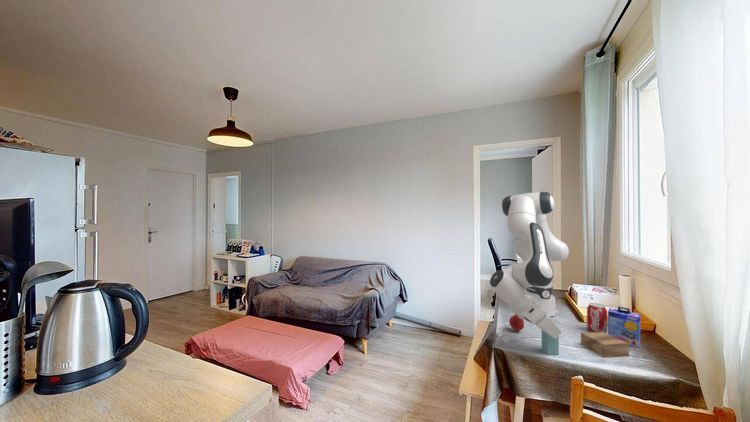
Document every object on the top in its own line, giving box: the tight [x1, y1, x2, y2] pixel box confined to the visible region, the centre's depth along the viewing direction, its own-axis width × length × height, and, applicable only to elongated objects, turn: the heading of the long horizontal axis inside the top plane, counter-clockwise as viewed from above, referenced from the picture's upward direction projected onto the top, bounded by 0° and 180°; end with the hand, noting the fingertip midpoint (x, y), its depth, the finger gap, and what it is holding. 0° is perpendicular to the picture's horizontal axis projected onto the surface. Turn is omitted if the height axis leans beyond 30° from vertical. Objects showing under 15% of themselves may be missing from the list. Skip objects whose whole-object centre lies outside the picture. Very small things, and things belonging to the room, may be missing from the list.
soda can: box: [586, 302, 608, 334], centre depth 122 cm, size 7×7×12 cm
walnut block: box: [580, 331, 630, 359], centre depth 106 cm, size 10×10×5 cm
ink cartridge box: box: [607, 306, 641, 348], centre depth 113 cm, size 10×6×14 cm, turn 45°
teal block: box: [541, 329, 560, 356], centre depth 104 cm, size 4×4×10 cm
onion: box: [509, 313, 525, 332], centre depth 122 cm, size 6×6×8 cm
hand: (551, 333), depth 104 cm, fingers closed on teal block, 4 cm apart
